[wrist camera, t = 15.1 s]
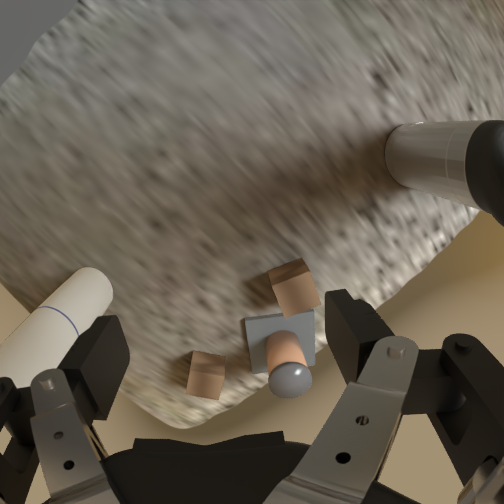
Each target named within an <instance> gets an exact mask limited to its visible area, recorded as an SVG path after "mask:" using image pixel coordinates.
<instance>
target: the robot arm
mask: <svg viewBox="0 0 504 504" xmlns="http://www.w3.org/2000/svg"><path fill="white" fill-rule="evenodd" d="M385 161H386V165H387V168H388V171H389V172H390V174H391V176H392V177H393V178H394V179H395V181H397V182H398V183H399V184H401V185H403V186H405V187H408V188H412V189H415V190H419V191H422V192H425V193H429V194H432V195H435V196H439V197H442V198H445V199H448V200H451V201H454V202H457V203H461V204H464V205H467V206H470V207H473V208H476V209H479V210H482V211H484V212H487V213H490V214H492V215H493V217H494V218H495V219H496V220H497V221H498V222H499V223H500V224H501V225H502V226H504V121H502V120H489V121H448V122H427V123H411V124H404V125H401V126H399V127H397V128H396V129H395V130H394V131H393V132H392V133H391V134H390V136H389V138H388V140H387V142H386V147H385ZM325 333H326V339H327V342H328V345H329V347H330V349H331V351H332V353H333V355H334V358H335V360H336V362H337V364H338V366H339V369H340V371H341V373H342V375H343V377H344V379H345V382H346V384H347V387H346V389H345V390H344V392H343V394H342V396H341V398H340V399H339V401H338V403H337V404H336V406H335V408H334V409H333V411H332V413H331V414H330V416H329V418H328V419H327V421H326V423H325V424H324V426H323V428H322V430H321V431H320V432H319V434H318V435H317V437H316V439H315V440H314V442H313V443H312V445H308V444H304V443H298V442H292V441H285V440H284V435H283V431H277V432H270V433H262V434H254V435H244V436H241V437H237V438H234V439H230V440H227V441H223V442H219V443H215V444H211V445H198V444H192V443H186V442H181V441H176V440H171V439H139V438H135V440H134V444H133V448H132V449H128V450H124V451H121V452H118V453H115V454H113V455H111V456H109V455H108V453H107V451H106V450H105V448H104V446H103V444H102V442H101V440H100V438H99V436H98V434H97V432H96V430H95V428H94V427H93V425H92V423H93V420H107V417H108V414H109V412H110V409H111V407H112V404H113V402H114V399H115V396H116V394H117V391H118V389H119V386H120V384H121V382H122V379H123V377H124V374H125V372H126V369H127V367H128V365H129V361H130V353H129V348H128V345H127V342H126V339H125V336H124V334H123V331H122V327H121V324H120V321H119V319H118V317H117V316H116V315H109V316H98V317H97V318H96V319H95V321H94V322H93V323H92V325H91V326H90V328H89V329H87V330H86V331H84V332H83V333H82V334H80V335H79V336H78V338H77V339H76V341H75V342H74V345H72V346H71V348H70V349H69V351H68V352H67V353H66V355H65V356H64V358H63V359H62V361H61V362H60V364H59V365H58V367H57V368H53V369H47V370H44V371H42V372H40V373H39V374H37V375H36V376H35V377H34V378H33V380H32V381H31V384H30V386H28V387H22V388H17V387H16V386H15V384H14V382H13V380H12V379H11V378H9V377H0V432H1V430H2V428H3V426H5V427H6V429H7V430H8V431H9V433H10V434H11V436H12V438H11V440H10V442H9V444H8V446H7V448H6V450H5V452H4V454H3V455H2V454H1V453H0V504H25V501H26V498H27V495H28V492H29V489H30V486H31V483H32V481H33V478H34V475H35V473H36V470H37V467H38V465H39V462H40V464H41V467H42V471H43V474H44V478H45V480H46V484H47V487H48V490H49V493H50V496H51V498H49V499H48V500H46V501H45V502H44V503H42V504H421V503H418V502H416V501H414V500H412V499H410V498H408V497H406V496H404V495H402V494H400V493H398V492H396V491H394V490H392V489H391V488H389V487H387V486H385V485H383V484H381V483H379V482H378V480H379V477H380V475H381V473H382V470H383V468H384V465H385V463H386V460H387V457H388V455H389V452H390V450H391V447H392V445H393V442H394V440H395V437H396V434H397V431H398V428H399V425H400V423H401V420H402V417H403V415H410V414H427V415H428V417H429V419H430V421H431V423H432V425H433V427H434V428H435V430H436V432H437V434H438V436H439V438H440V440H441V442H442V444H443V446H444V448H445V449H446V451H447V454H448V456H449V457H450V459H451V461H452V463H453V465H454V468H455V470H456V472H457V474H458V475H459V478H460V480H461V482H462V484H463V486H464V488H463V489H462V491H461V492H460V494H459V496H458V501H457V504H504V367H503V366H502V364H501V363H499V361H498V360H497V359H496V358H495V357H494V356H493V355H492V354H491V353H490V351H489V350H488V349H487V348H486V347H485V346H484V345H483V344H482V343H481V342H480V341H479V340H478V339H477V338H475V337H473V336H471V335H468V334H452V335H450V336H448V337H446V338H445V340H444V341H443V345H442V349H430V350H420V349H418V346H417V345H416V343H415V342H414V341H412V340H410V339H409V338H406V337H402V336H395V335H394V333H393V332H392V331H391V330H390V328H389V327H388V326H387V325H386V324H385V322H384V321H383V320H382V319H381V317H380V316H379V315H378V313H376V311H375V310H374V308H373V307H372V306H371V305H370V304H368V303H367V302H365V301H363V300H361V299H358V300H354V299H353V298H352V297H351V295H350V294H349V293H348V291H347V290H346V289H340V290H334V291H327V292H326V293H325Z"/></svg>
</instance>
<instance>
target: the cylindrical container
mask: <svg viewBox="0 0 504 504" xmlns="http://www.w3.org/2000/svg"><path fill="white" fill-rule="evenodd" d="M112 299H113V289H112V285H111V283H110V281H109V280H108V278H107V277H106V276H105V275H104V274H103V273H102V272H101V271H99V270H97V269H95V268H91V267H84V268H81V269H79V270H77V271H76V272H75V273H74V274H73V275H72V276H71V277H70V278H69V279H67V280H66V281H65V282H64V283H63V284H62V285H61V286H60V287H59V288H58V289H57V290H56V291H54V292H53V293H52V294H51V295H50V296H49V297H48V298H47V299H46V300H45V301H44V302H43V303H42V304H41V305H40V306H39V307H38V308H37V309H36V310H34V311H33V312H32V313H31V314H30V315H29V316H28V317H27V319H25V320H24V321H23V322H22V323H21V325H19V327H18V328H17V329H16V330H15V331H14V332H13V333H12V334H11V335H10V336H9V337H8V338H7V339H6V340H5V341H4V342H3V343H2V344H1V345H0V377H9V378H11V379H12V380H13V382H14V384H15V386H16V387H17V388H22V387H28V386H30V384H31V381H32V380H33V378H34V377H35V376H36V375H37V374H39V373H40V372H42V371H44V370H47V369H53V368H57V367H58V365H59V364H60V362H61V361H62V359H63V358H64V356H65V355H66V353H67V352H68V351H69V349H70V348H71V346H72V345H74V342H75V341H76V339H77V338H78V336H79V335H80V334H82V333H83V332H84V331H86V330H87V329H89V328H90V326H91V325H92V323H93V322H94V321H95V319H96V318H97V317H98V316H102V315H103V314H104V312H105V311H106V309H107V308H108V307H109V305H110V304H111V302H112Z"/></svg>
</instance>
